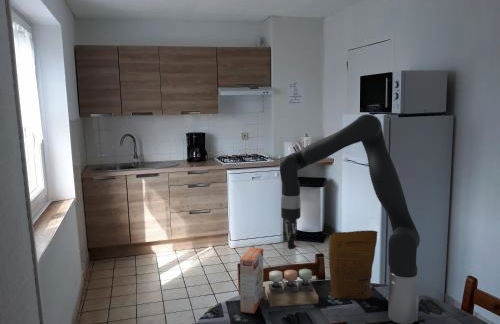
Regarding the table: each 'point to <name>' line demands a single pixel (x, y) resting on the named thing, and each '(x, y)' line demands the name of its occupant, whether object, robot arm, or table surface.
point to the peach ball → (290, 276)
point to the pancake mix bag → (351, 263)
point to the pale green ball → (305, 275)
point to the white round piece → (276, 277)
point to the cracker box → (251, 280)
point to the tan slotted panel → (291, 294)
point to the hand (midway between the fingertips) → (290, 248)
